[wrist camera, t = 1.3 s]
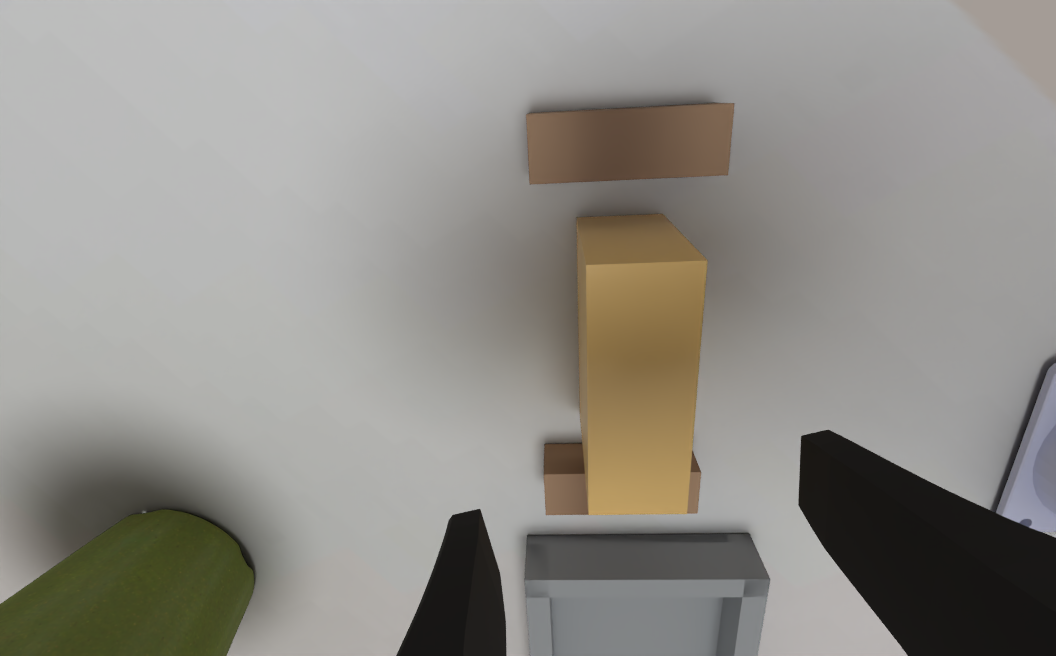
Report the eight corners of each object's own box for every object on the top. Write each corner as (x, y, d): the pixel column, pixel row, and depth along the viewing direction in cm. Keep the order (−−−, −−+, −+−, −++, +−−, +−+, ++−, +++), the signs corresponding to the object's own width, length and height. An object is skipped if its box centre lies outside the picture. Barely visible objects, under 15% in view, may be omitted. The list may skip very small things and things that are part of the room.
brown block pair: (715, 103, 17) (734, 103, 15) (685, 480, 23) (697, 513, 21) (529, 113, 18) (526, 114, 16) (546, 482, 23) (545, 515, 22)
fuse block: (662, 213, 19) (707, 260, 13) (653, 409, 22) (687, 514, 16) (576, 216, 19) (586, 265, 14) (579, 411, 22) (588, 514, 17)
